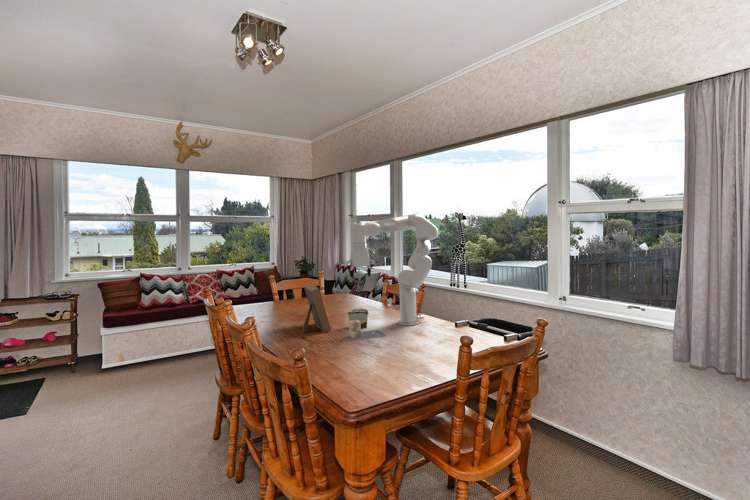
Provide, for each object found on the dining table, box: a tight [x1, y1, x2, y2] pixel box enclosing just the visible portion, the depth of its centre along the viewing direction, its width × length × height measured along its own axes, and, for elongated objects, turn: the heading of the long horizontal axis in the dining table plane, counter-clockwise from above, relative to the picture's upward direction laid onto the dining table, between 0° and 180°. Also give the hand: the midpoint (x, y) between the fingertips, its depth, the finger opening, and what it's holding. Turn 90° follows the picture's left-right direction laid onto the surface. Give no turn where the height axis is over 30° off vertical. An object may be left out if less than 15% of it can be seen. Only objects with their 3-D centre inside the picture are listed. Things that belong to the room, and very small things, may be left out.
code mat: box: [344, 329, 388, 342], centre depth 204 cm, size 20×14×1 cm
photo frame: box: [302, 282, 332, 334], centre depth 220 cm, size 15×22×25 cm
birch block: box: [348, 320, 362, 338], centre depth 202 cm, size 5×5×8 cm
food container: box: [347, 308, 370, 329], centre depth 222 cm, size 12×6×10 cm, turn 84°
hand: (360, 276), depth 211 cm, fingers open, 9 cm apart
